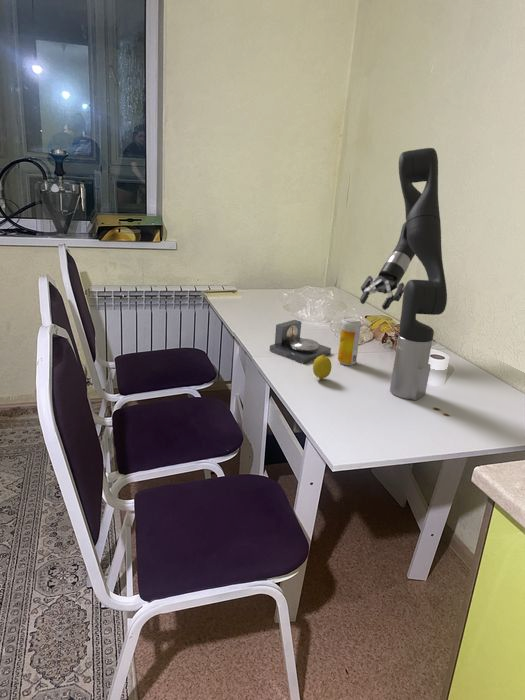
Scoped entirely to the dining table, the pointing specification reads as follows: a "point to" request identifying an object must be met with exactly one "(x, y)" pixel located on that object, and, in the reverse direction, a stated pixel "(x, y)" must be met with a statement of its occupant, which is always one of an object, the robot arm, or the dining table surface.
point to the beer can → (349, 340)
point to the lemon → (322, 367)
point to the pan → (304, 344)
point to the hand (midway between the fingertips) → (372, 305)
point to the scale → (288, 333)
